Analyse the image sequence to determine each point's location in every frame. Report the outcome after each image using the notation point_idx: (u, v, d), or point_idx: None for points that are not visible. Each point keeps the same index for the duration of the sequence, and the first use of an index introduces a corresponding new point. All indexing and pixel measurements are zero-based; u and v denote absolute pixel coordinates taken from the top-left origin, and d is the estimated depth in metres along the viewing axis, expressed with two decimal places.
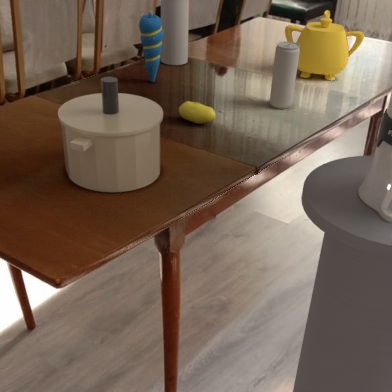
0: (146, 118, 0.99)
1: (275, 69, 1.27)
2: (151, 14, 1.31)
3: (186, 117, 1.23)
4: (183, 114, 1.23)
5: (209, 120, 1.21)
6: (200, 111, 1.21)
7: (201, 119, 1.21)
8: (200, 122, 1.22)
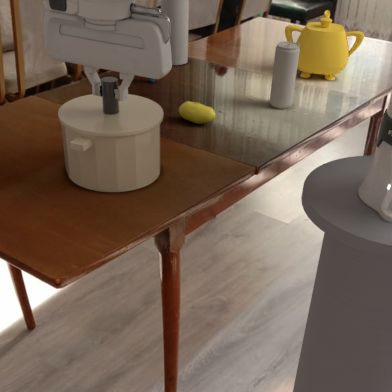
0: (146, 118, 0.99)
1: (275, 69, 1.27)
2: None
3: (186, 117, 1.23)
4: (183, 114, 1.23)
5: (209, 120, 1.21)
6: (200, 111, 1.21)
7: (201, 119, 1.21)
8: (200, 122, 1.22)
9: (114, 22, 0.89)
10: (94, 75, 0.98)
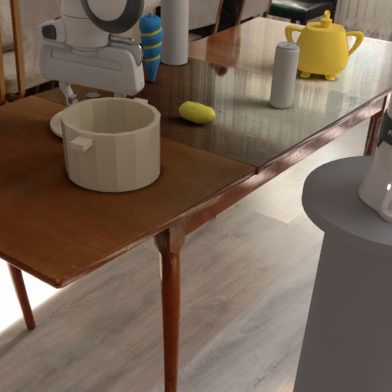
0: None
1: (275, 69, 1.27)
2: (151, 14, 1.31)
3: (186, 117, 1.23)
4: (183, 114, 1.23)
5: (209, 120, 1.21)
6: (200, 111, 1.21)
7: (201, 119, 1.21)
8: (200, 122, 1.22)
9: (95, 49, 1.08)
10: (67, 89, 1.17)
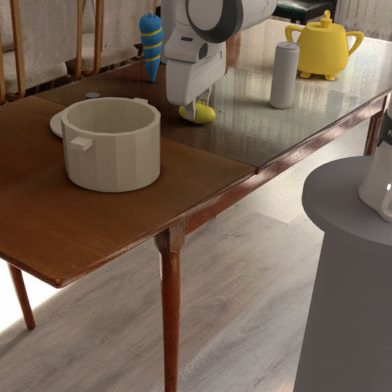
0: None
1: (275, 69, 1.27)
2: (151, 14, 1.31)
3: None
4: (183, 114, 1.23)
5: (209, 120, 1.21)
6: (200, 111, 1.21)
7: (201, 119, 1.21)
8: (200, 122, 1.22)
9: None
10: None
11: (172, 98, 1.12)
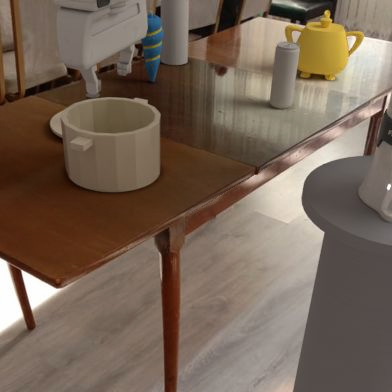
0: None
1: (275, 69, 1.27)
2: (151, 14, 1.31)
3: None
4: None
5: None
6: None
7: None
8: None
9: None
10: None
11: (67, 60, 0.87)
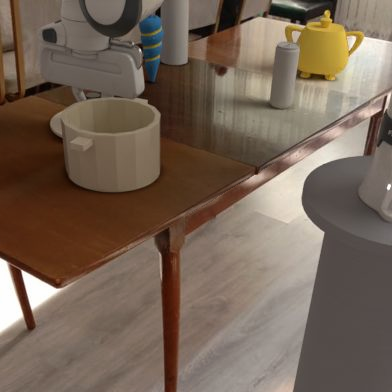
0: None
1: (275, 69, 1.27)
2: (151, 14, 1.31)
3: None
4: None
5: None
6: None
7: None
8: None
9: (96, 52, 1.08)
10: (80, 94, 1.17)
11: None
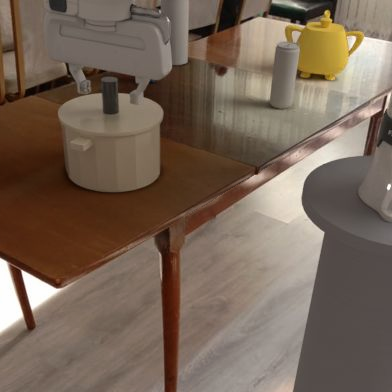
0: (146, 118, 0.99)
1: (275, 69, 1.27)
2: None
3: None
4: None
5: None
6: None
7: None
8: None
9: (114, 23, 0.89)
10: (79, 73, 0.99)
11: None
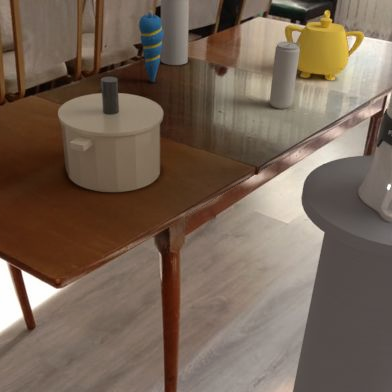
0: (146, 118, 0.99)
1: (275, 69, 1.27)
2: (151, 14, 1.31)
3: None
4: None
5: None
6: None
7: None
8: None
9: None
10: None
11: None
